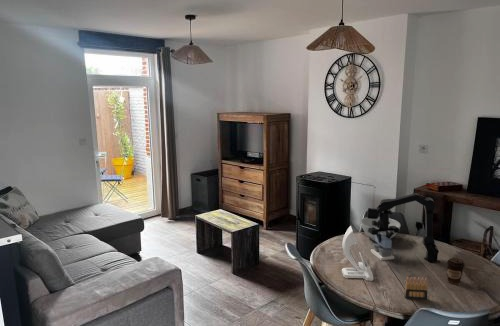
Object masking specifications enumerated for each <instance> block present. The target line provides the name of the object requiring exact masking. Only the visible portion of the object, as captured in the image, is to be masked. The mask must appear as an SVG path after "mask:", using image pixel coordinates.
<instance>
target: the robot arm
mask: <svg viewBox="0 0 500 326" xmlns="http://www.w3.org/2000/svg"><path fill="white" fill-rule="evenodd" d="M413 202H417V203H419V204H420V205H422V206H423V208H424V211H425V212H424V213H425V214H424V215H425V234H424V235H422V240H421V242H422V245H423V246H424V248H425V249H426V253H425V257H423V259H424V260H425V261H427V262H428V263H430V264H432V263H440V260H438V257H439V253H440V250H439V248H438V246H437V245H436V243H435V239H434V226H433V225H434V221H433V219H434V218H433V217H434V211H435V208H436V203H435V201H434V200H433V198H431V197H429V196H428V197H426V196H424V195H421V194H419V193H416V192H413V193H412V194H409V195H408V194H407V195H403V196H400V197H396V198H385V199H382V200H380V203H379V205H378V206H377V207H376V208H372V207H368V209H367V219H378V217H380V218H379V220H378V222H376V221H372V225H373V226H375V227H376V226H377V228H379V229H376V228H374V227H373V228H369V229H368V232H369V233H370V234H372V235H376V236H377V239H378V242H379V243H380V242H381V236H382V235H381V234H380V232H384V231H386V237H388V238H389V239H390V237H391V236H392V235H393V234H394V233H393V231H394V232H395V233H397V234H398V233H400V229H399V228H398V227H396V226H389V224H390V222H389V218H390V215H393V211H392V210H391V209H393V208H395V207H397V206H401V205H405V204H408V203H413Z"/></svg>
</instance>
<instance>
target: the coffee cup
mask: <svg viewBox="0 0 500 326" xmlns="http://www.w3.org/2000/svg"><path fill="white" fill-rule="evenodd" d="M446 263H447V264H446V265H447V267H446V271H447V272H446V275H447V276H446V277H447V281H446V282H448V283H449V284H452V285H461V280H462V276H463V272H464V267H465V265H466V264H465V263H464V260H463V259H460V258H455V257H452V258H448V260H447V262H446Z"/></svg>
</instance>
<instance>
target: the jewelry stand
mask: <svg viewBox="0 0 500 326" xmlns="http://www.w3.org/2000/svg"><path fill="white" fill-rule="evenodd" d="M355 245H359V244H358V240H357V238H356V236H355V233H354V230H353V228H352V225H350V226H349V227H348V228H347V229H346V232H345V234H344V235H343V237H342V246H341V247H342V251H343V253H344V255H345V257H346V259H347V260H348V261H349V262H350V263H351V265H352V267H343V268H342V269H341V274H342V275H343V277H345V278H344V279H348V278H363V279H362V280H365V281H366V280H367V282H368V281H369V282H371V281H374V275H373V272H372V269H371V266H370V265H369V264H368V262H367V259H366V258H363V256H362V253H361V251H359V252H358V253H359V256H360V260H361V261H358V263H357V261H355V259H354V257H353V255H352V251H351V249H352V246H355ZM358 265H359V266H358ZM359 267H360V268H359Z"/></svg>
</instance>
